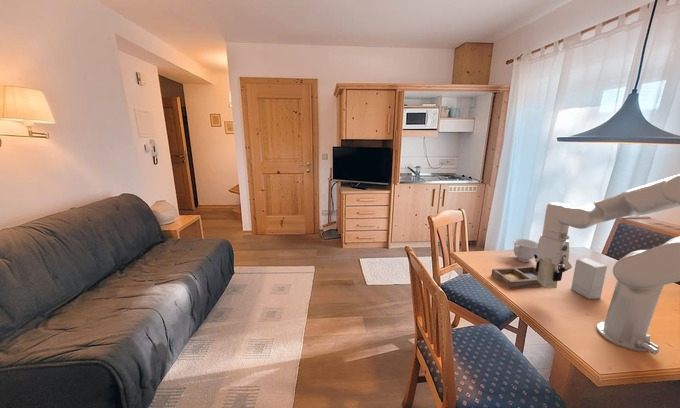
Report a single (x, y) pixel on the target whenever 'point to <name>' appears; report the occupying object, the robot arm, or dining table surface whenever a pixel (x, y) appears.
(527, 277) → the divided wooden tray
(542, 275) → the skincare box
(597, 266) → the skincare box
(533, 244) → the teacup
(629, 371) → the dining table surface
